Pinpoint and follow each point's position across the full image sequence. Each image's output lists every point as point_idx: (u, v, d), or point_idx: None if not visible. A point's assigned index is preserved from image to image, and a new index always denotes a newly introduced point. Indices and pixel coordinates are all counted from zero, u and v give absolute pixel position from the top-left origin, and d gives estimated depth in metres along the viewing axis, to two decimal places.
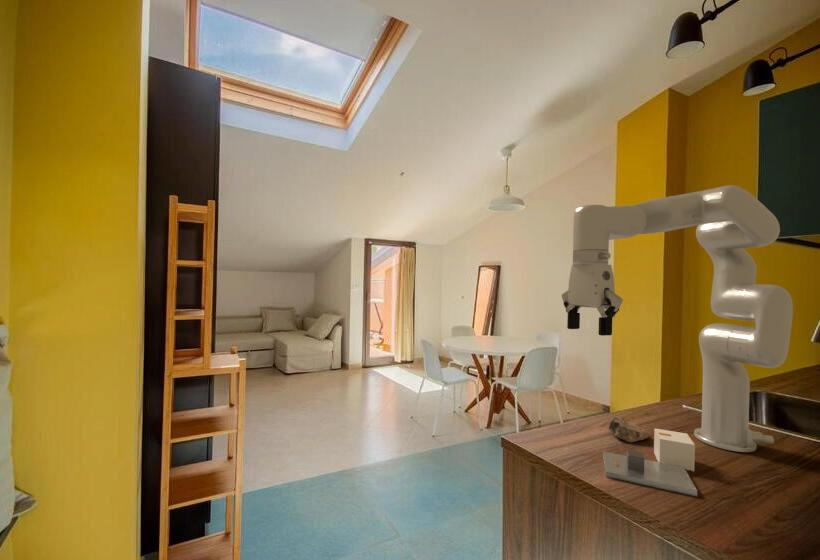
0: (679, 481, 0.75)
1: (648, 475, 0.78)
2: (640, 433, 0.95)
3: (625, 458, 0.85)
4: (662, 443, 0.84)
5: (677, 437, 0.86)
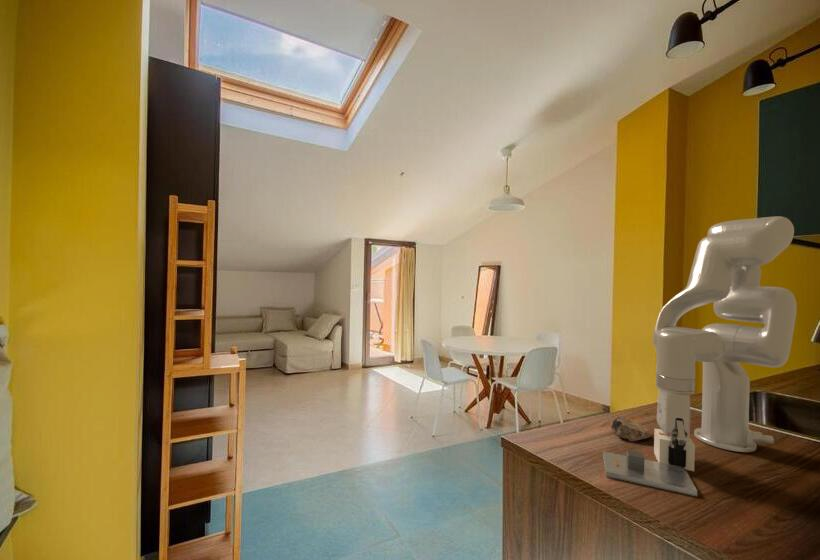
0: (679, 481, 0.75)
1: (648, 475, 0.78)
2: (642, 432, 0.96)
3: (625, 458, 0.85)
4: (662, 443, 0.84)
5: None
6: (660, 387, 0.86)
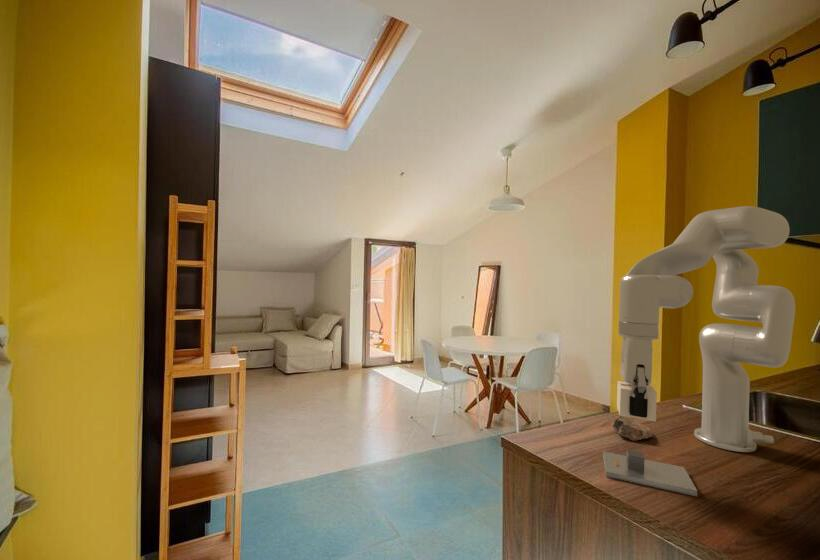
0: (679, 481, 0.75)
1: (648, 475, 0.78)
2: (643, 432, 0.96)
3: (625, 458, 0.85)
4: (623, 393, 0.79)
5: None
6: (622, 334, 0.80)
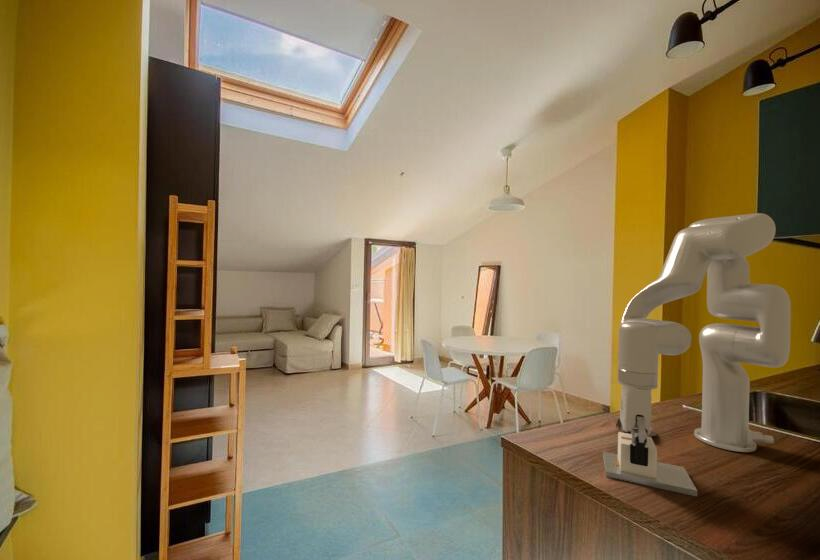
0: (679, 481, 0.75)
1: None
2: None
3: None
4: (623, 448, 0.79)
5: None
6: (621, 382, 0.80)
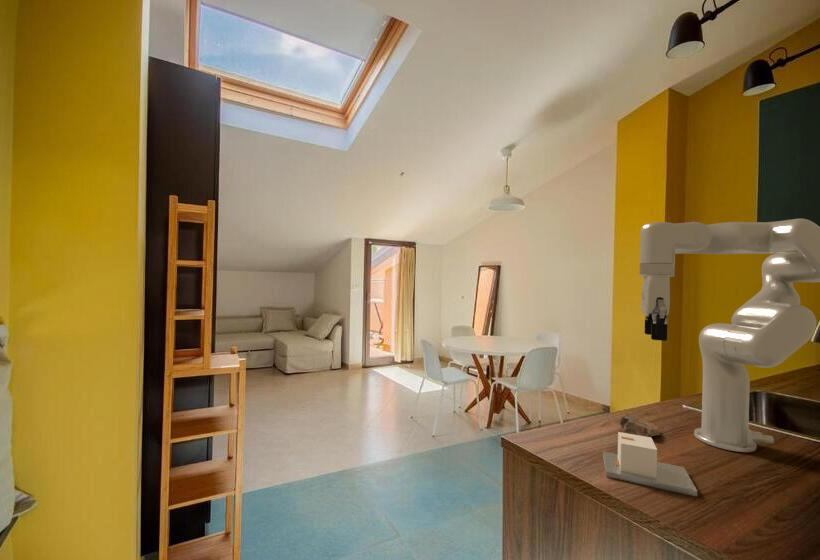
0: (679, 481, 0.75)
1: None
2: (648, 429, 0.98)
3: None
4: (623, 448, 0.79)
5: (640, 441, 0.80)
6: (643, 274, 0.93)
